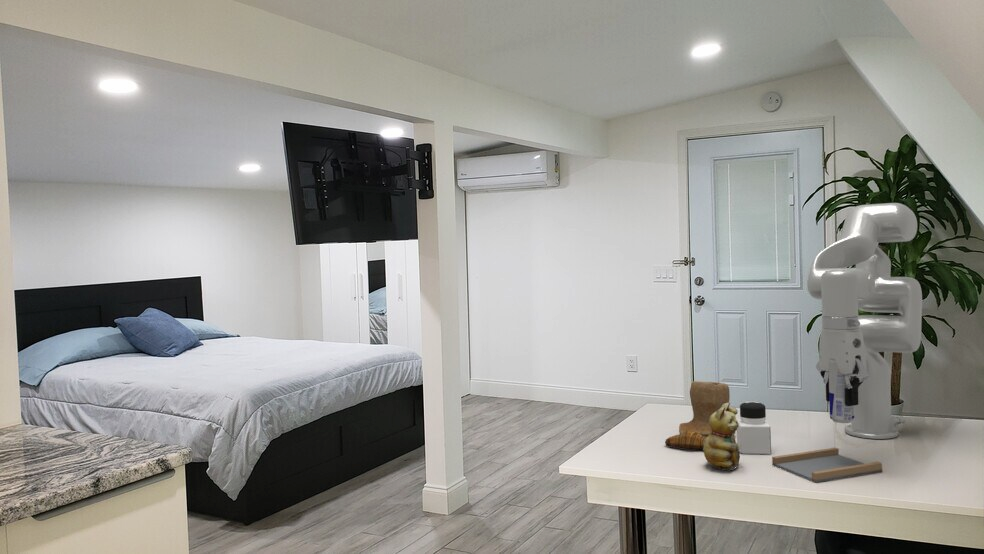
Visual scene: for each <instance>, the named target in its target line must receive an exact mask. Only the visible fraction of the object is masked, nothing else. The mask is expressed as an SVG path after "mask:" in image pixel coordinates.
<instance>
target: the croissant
mask: <svg viewBox="0 0 984 554" xmlns="http://www.w3.org/2000/svg"><path fill="white" fill-rule="evenodd" d="M706 438H707V437H705V436H702V435H701V434H699V433H697V432H695V431H692V430H689V431H686V432H684V433H682V434H680V433H679V434H675V435H673V436H669V437H667V438H666V439H665V442H664V443H665V446H667V447H670V448H674V449H675V448H676V449H682V450H688V451H703V448H704V443H705V440H706Z"/></svg>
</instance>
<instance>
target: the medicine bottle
mask: <svg viewBox="0 0 984 554" xmlns="http://www.w3.org/2000/svg"><path fill="white" fill-rule="evenodd" d="M766 416H767V413H766V405H765V404H763V403H761V402H758V401H745V402H743V403H741V404H739V418H738V419H737V418H736V420H737V422H738V424H739V425H738V428H737V430H736V443H737V444H738V445H739V451H740V455H771V454H772V438H771V437H772V435H771V425H770V424H769V423H768V421H767V417H766Z"/></svg>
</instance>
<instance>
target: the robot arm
mask: <svg viewBox="0 0 984 554" xmlns="http://www.w3.org/2000/svg"><path fill="white" fill-rule="evenodd" d="M917 231H918V219H917V217H916V215H915V213H914V211H913V210H912V209H911V208H909V207H908V206H907V205H905V204H903V203H899V202H887V203H872V204H860V205H857V206H854V207H852V208H851V209H850V210H849V211H848V212H847V213H846V216H845V219H844V222H843V225H842V229H841V232H840V233H841V234H840V235H839V239H838V240H837V241H835V242H833V243H832V244H829V245H828V246H827V247H825V248H824V249H822V250H821V251H820V252H819V253H817V254H816V255H815V257H814V259H813V260H812V262H811V266H810V268H809V272H808V275H807V281H806V282H807V283H806V286H807V292H808V294H809V295H810V296H811V297H812V298H814V299H817V300H821V326H822V327H821V330H820V337H819V343H818V345H819V346H818V362H817V364H816V365H815V368H816V370H817V371H818V372H819V373H820V376H821V377H822V379H823V383H824V384H825V401H826V402H829V360H830V359H829V358H834V359H836V360H835V361H836V362H837V365H838V369H839V372H840V374H842V375H844V377H845V381H846V385H847V388H845V405H846V406H854V420H853V421H852V422H851V423H850V424H848V425H846V426H844V431H845V433H846V434H848V435H849V436H853V437H857V438H863V439H874V440H886V439H887V440H888V439H893V438H896V437H899V430H898V429H897V428H895V426H896V425H903V424H905V422H906V418H905V417H904V416H902V415H901V416H894V415H892V396H891V392H892V391H891V390H892V389H891V388H892V387H891V368H890V366H889V364H888V362H887V361H886V359H885V358H884V357H883V355H881V354H880V353H903V354H904V353H906V354H907V353H915V352H917V351H918V350H919V348H920V346H921V341H922V317H923V314H922V313H923V293H922V287H921V284H920V282H919V281H918V280H917V279H915V278H914V277H911V276H910V277H909V276H891V271H892V270H891V268H892V262H891V259H890V257H889V256H888V254H886V253H885V252H884V251H883V250H882V248H880V247H879V246H877V243H902V242H910V241H912V240H913V239H914V238H915V237H916V236H917ZM851 266H855V267H851ZM859 311H862V312H866V313H867V312H868V313H889V314H890V313H897V314H898V313H899V314H900V315H883V314H881V315H880V314H861V315H859ZM852 373H853V374H852ZM851 377H853V380H852V381H851Z"/></svg>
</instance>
